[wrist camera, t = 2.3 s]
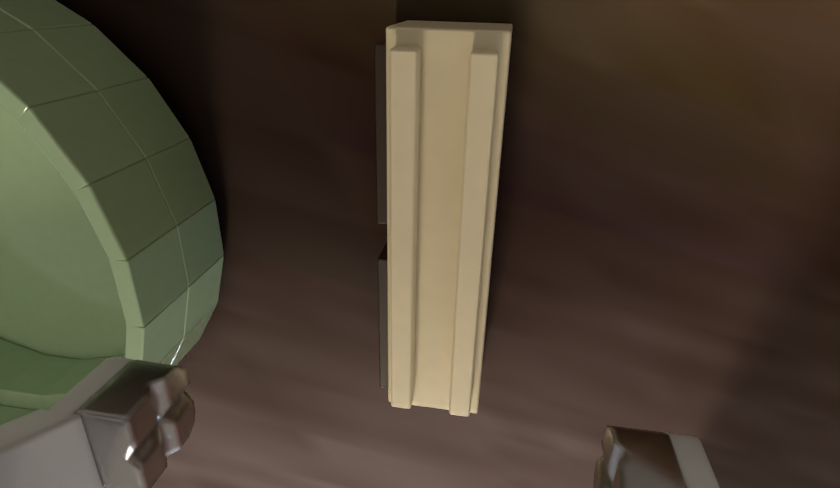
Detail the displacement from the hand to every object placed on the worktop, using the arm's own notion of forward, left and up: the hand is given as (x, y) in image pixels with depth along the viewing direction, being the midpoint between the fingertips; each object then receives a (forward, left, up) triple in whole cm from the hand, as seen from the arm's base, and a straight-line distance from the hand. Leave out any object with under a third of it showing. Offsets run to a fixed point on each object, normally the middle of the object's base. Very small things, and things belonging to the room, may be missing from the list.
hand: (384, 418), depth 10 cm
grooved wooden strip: (0, 0, -10) cm, 10 cm away
